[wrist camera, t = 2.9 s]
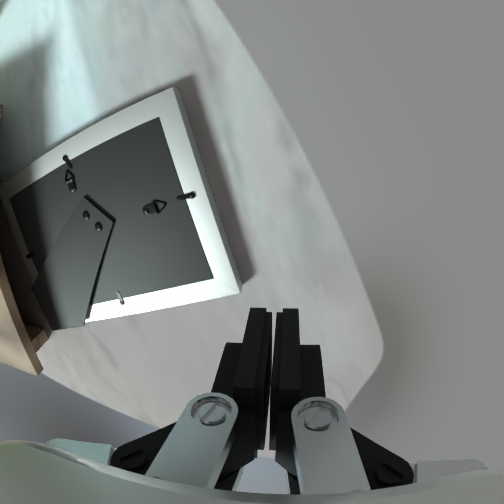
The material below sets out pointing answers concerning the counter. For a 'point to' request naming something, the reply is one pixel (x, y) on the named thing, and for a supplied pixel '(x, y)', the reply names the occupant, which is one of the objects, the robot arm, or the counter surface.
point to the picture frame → (121, 219)
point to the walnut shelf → (17, 330)
